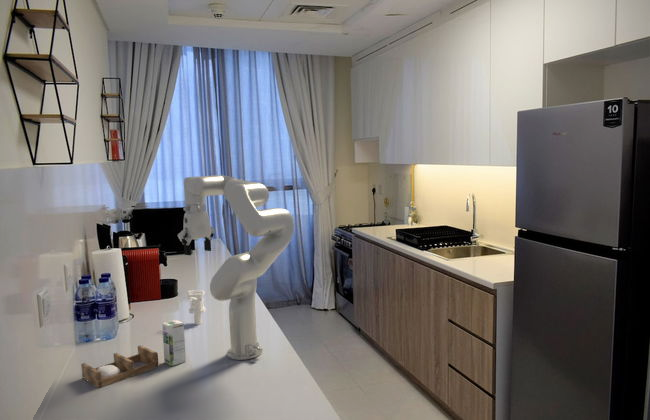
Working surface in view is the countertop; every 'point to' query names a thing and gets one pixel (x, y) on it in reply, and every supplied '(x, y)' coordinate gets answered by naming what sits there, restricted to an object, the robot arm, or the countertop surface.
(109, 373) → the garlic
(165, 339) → the syrup box
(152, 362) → the rack
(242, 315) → the robot arm
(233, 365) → the countertop surface
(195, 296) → the white slotted cylinder
